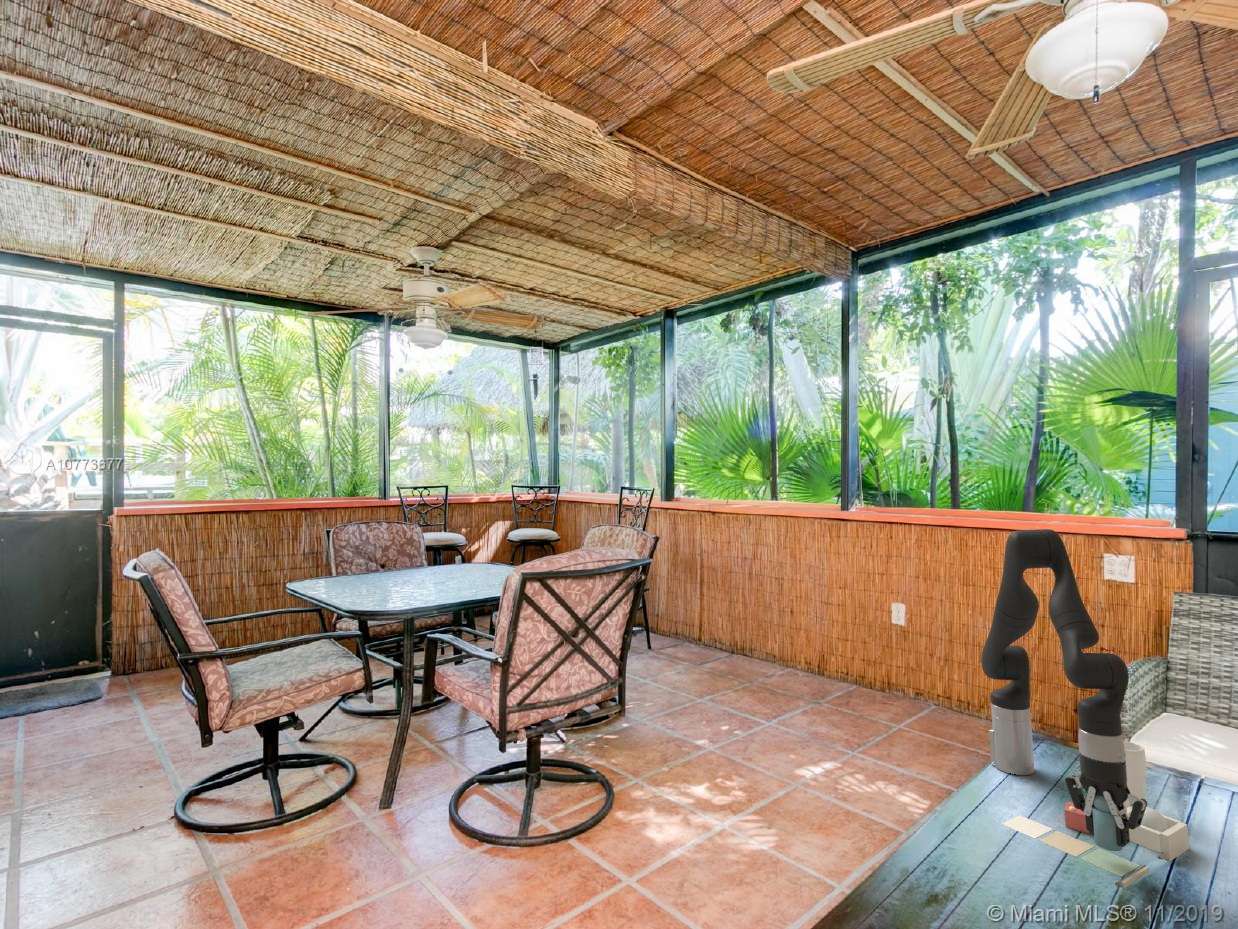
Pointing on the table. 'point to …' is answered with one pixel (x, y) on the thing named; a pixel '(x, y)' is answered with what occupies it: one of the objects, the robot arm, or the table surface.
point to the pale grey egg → (1154, 820)
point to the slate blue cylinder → (1104, 825)
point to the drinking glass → (1135, 770)
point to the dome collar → (1162, 838)
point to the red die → (1075, 818)
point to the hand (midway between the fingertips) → (1108, 839)
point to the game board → (1080, 849)
